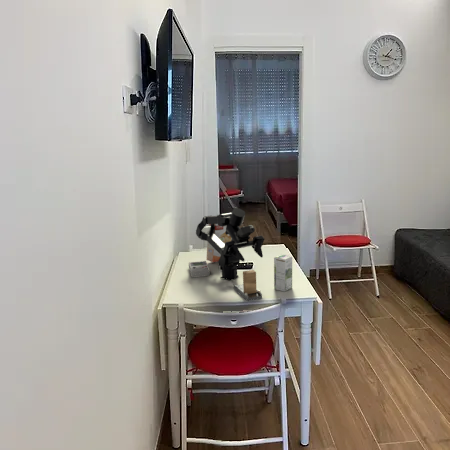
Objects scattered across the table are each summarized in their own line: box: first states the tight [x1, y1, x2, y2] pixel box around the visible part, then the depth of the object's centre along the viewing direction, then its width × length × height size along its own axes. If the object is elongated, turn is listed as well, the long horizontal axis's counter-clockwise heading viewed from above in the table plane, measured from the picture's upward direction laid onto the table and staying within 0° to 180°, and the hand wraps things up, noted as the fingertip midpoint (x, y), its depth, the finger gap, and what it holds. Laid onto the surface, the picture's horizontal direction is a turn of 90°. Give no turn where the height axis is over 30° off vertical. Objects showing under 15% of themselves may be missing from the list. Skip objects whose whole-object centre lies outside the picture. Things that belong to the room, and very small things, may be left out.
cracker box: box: [206, 224, 232, 263], centre depth 230 cm, size 14×6×21 cm, turn 131°
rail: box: [233, 283, 263, 302], centre depth 185 cm, size 16×6×3 cm, turn 20°
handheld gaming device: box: [188, 260, 210, 278], centre depth 216 cm, size 9×15×4 cm, turn 9°
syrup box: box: [273, 253, 293, 292], centre depth 187 cm, size 6×6×14 cm
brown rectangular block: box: [242, 269, 258, 294], centre depth 181 cm, size 3×5×9 cm, turn 109°
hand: (253, 258), depth 184 cm, fingers open, 9 cm apart
